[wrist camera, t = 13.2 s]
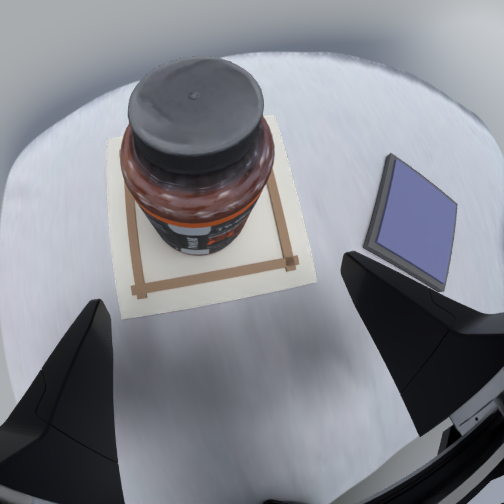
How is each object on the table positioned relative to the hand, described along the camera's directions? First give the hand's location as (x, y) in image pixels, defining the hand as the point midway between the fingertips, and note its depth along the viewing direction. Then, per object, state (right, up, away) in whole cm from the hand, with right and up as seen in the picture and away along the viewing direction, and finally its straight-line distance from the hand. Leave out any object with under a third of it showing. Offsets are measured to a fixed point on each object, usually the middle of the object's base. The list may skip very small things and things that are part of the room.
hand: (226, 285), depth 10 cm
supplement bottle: (-2, +4, +8) cm, 10 cm away
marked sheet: (-2, +4, +9) cm, 10 cm away
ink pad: (+15, +4, +11) cm, 19 cm away
